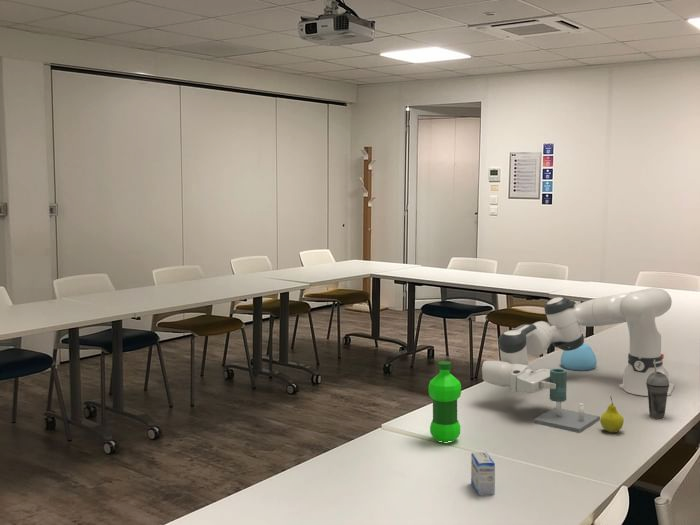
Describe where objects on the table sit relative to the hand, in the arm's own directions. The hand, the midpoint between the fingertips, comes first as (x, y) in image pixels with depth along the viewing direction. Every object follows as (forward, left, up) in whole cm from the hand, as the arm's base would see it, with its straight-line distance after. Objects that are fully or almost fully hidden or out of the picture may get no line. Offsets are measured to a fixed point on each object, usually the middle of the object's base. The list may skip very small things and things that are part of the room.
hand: (560, 384), depth 242 cm
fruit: (+1, +18, -13) cm, 22 cm away
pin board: (0, +2, -13) cm, 13 cm away
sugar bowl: (-70, -25, -13) cm, 76 cm away
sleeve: (0, -1, -6) cm, 6 cm away
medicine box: (+64, +8, -13) cm, 66 cm away
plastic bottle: (+40, -20, -13) cm, 46 cm away
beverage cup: (-22, +24, -13) cm, 35 cm away
